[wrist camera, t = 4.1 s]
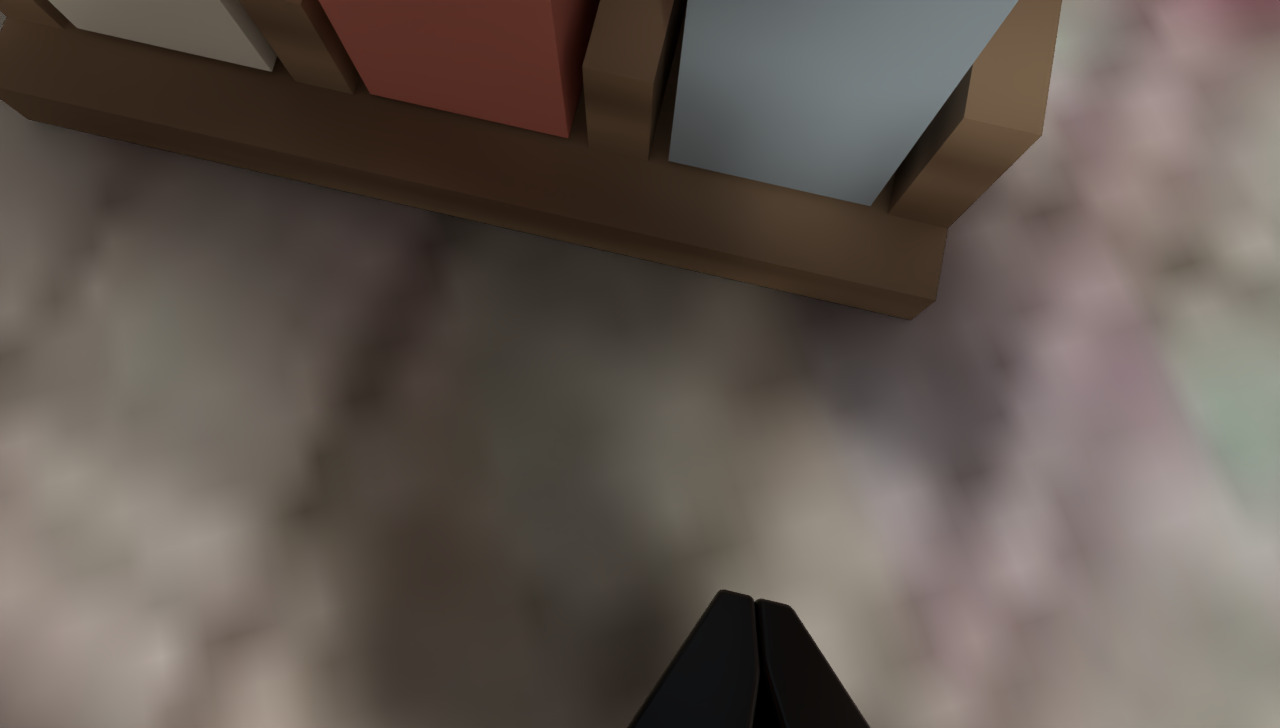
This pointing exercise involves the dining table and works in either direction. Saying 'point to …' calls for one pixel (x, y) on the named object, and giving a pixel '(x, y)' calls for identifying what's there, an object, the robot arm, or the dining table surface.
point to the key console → (550, 144)
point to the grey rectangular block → (820, 86)
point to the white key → (177, 27)
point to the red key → (472, 55)
